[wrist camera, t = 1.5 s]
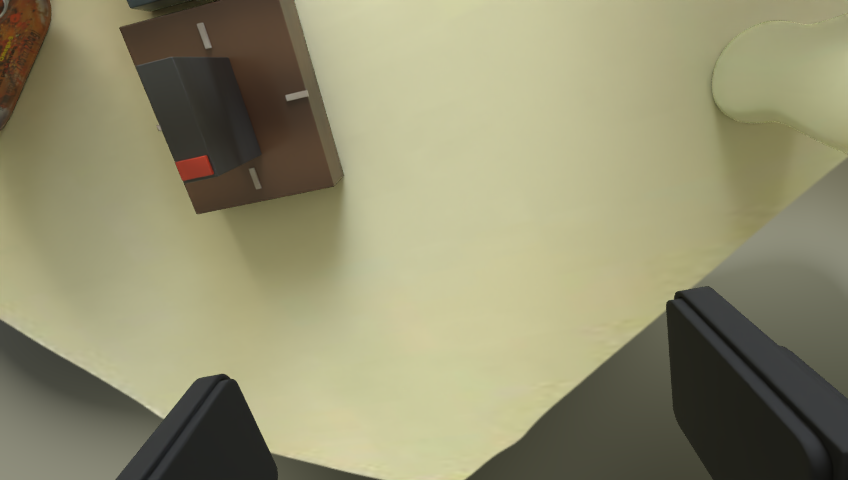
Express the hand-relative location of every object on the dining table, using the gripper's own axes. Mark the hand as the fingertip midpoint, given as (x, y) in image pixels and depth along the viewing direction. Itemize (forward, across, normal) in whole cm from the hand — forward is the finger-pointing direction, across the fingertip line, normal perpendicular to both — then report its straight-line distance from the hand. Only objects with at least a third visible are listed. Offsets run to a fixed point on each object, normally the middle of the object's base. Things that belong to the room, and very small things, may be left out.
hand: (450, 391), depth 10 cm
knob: (+21, +13, -7) cm, 25 cm away
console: (+24, +12, -7) cm, 28 cm away
